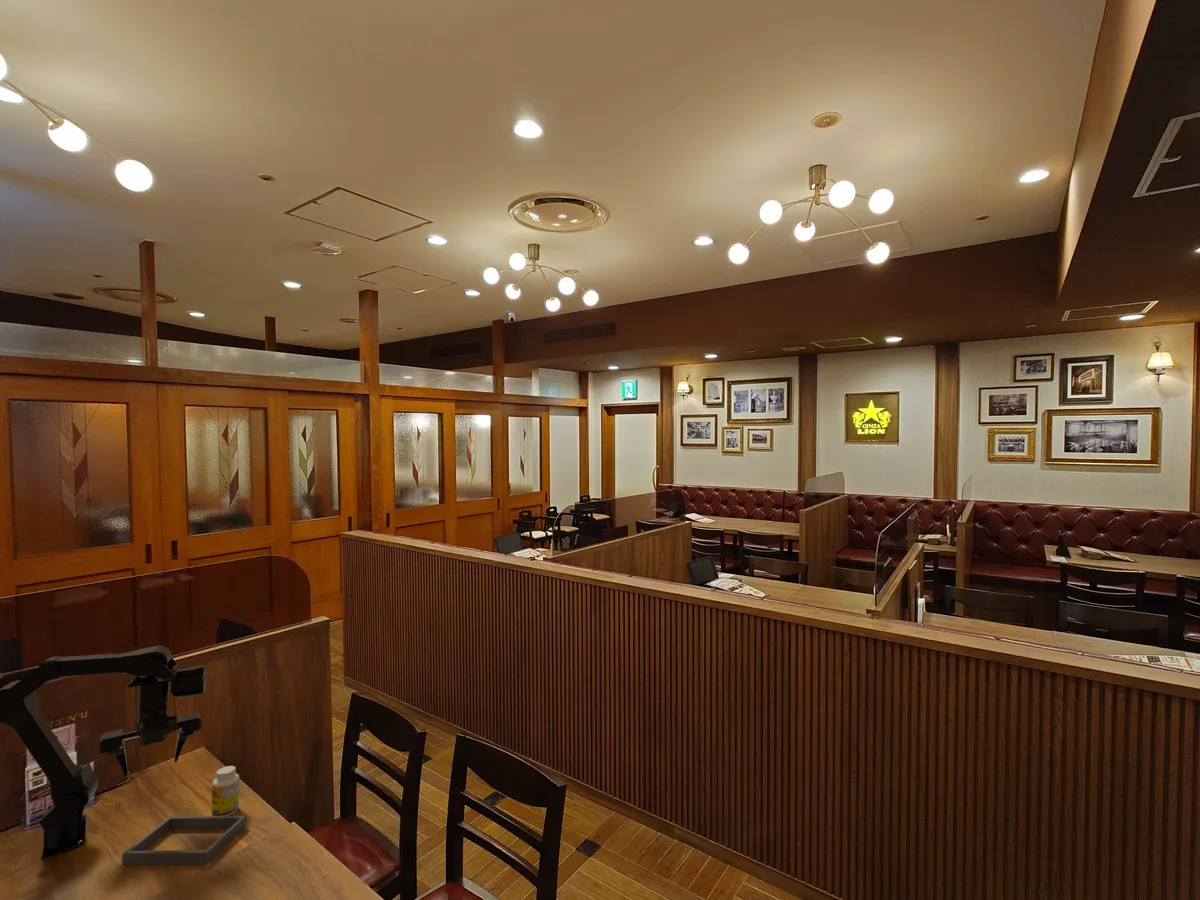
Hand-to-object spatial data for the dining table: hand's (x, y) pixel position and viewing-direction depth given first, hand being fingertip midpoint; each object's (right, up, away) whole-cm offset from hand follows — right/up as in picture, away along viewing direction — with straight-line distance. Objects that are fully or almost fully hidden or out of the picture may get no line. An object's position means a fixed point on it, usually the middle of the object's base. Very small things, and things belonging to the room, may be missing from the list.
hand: (151, 768), depth 133 cm
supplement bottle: (+15, -13, +4) cm, 20 cm away
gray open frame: (+15, -12, -8) cm, 21 cm away
